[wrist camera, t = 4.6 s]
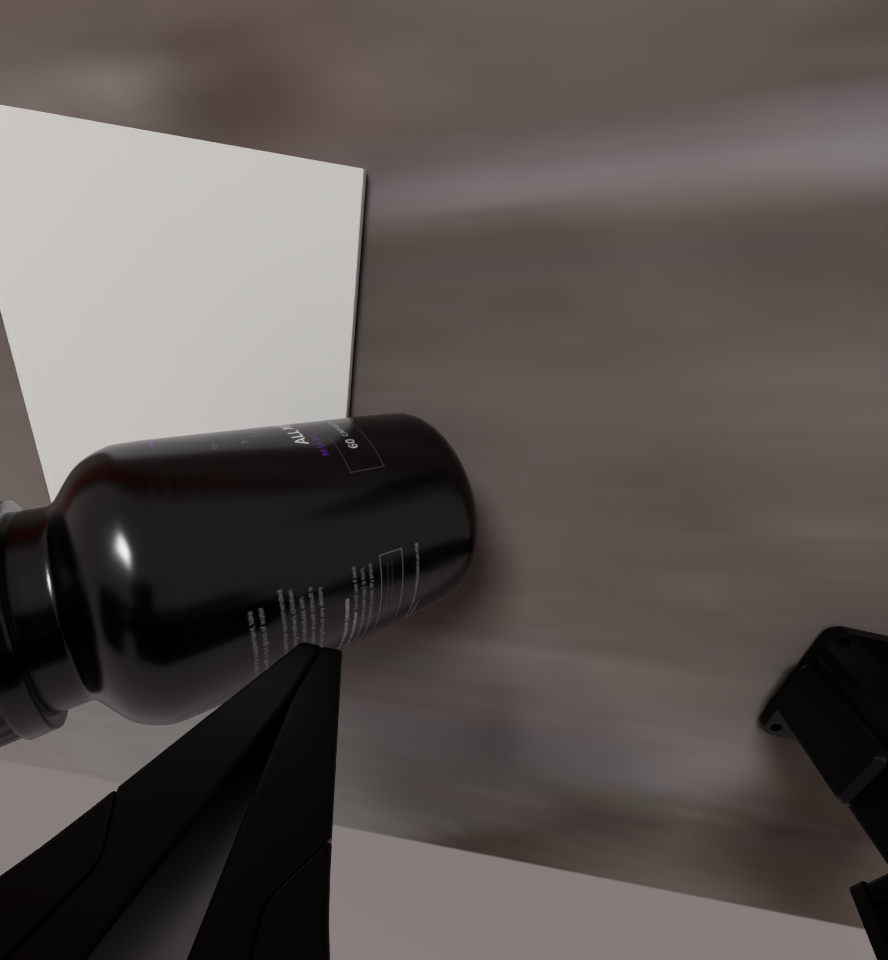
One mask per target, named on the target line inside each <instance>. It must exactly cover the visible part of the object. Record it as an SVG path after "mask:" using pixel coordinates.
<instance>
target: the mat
mask: <svg viewBox="0 0 888 960" xmlns="http://www.w3.org/2000/svg"><path fill="white" fill-rule="evenodd" d="M366 173H367V172H366V171H365V170H364V169H361V168H355V167H350V166H344V165H339V164H333V163H327V162H322V161H316V160H310V159H305V158H299V157H293V156H288V155H282V154H276V153H271V152H265V151H259V150H254V149H248V148H242V147H237V146H231V145H225V144H220V143H214V142H208V141H203V140H197V139H191V138H186V137H180V136H174V135H169V134H163V133H157V132H152V131H146V130H140V129H135V128H129V127H123V126H118V125H112V124H106V123H101V122H95V121H89V120H84V119H78V118H72V117H67V116H61V115H55V114H50V113H44V112H38V111H33V110H27V109H21V108H16V107H10V106H4V105H0V310H1V314H2V318H3V322H4V325H5V329H6V333H7V337H8V340H9V344H10V348H11V352H12V355H13V359H14V363H15V367H16V370H17V374H18V378H19V382H20V386H21V389H22V393H23V397H24V401H25V404H26V408H27V412H28V416H29V419H30V423H31V427H32V431H33V435H34V438H35V442H36V446H37V450H38V453H39V457H40V461H41V465H42V468H43V472H44V476H45V480H46V484H47V487H48V491H49V495H50V499H51V502H53V501H54V499H55V498H56V496H57V494H58V492H59V490H60V489H61V487H62V485H63V483H64V481H65V480H66V478H67V476H68V475H69V473H70V472H71V471H72V470H73V468H74V467H75V466H76V465H77V464H78V463H79V462H80V461H82V460H83V459H84V458H86V457H87V456H89V455H90V454H92V453H94V452H96V451H98V450H99V449H102V448H104V447H106V446H110V445H114V444H120V443H127V442H134V441H140V440H149V439H158V438H167V437H176V436H185V435H195V434H204V433H213V432H222V431H231V430H241V429H250V428H259V427H268V426H277V425H287V424H296V423H305V422H314V421H323V420H333V419H342V418H349V404H350V390H351V377H352V363H353V350H354V336H355V322H356V309H357V295H358V281H359V268H360V254H361V241H362V227H363V213H364V200H365V186H366Z"/></svg>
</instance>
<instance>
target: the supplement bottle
mask: <svg viewBox="0 0 888 960" xmlns="http://www.w3.org/2000/svg"><path fill="white" fill-rule="evenodd" d="M477 541H478V521H477V512H476V506H475V501H474V497H473V492H472V489H471V486H470V483H469V480H468V477H467V475H466V472H465V470H464V468H463V466H462V464H461V462H460V460H459V458H458V456H457V455H456V453H455V451H454V450H453V448H452V447H451V446H450V444H449V443H448V442H447V440H446V439H445V438H444V437H443V436H442V435H441V434H440V433H439V432H438V431H437V430H436V429H435V428H434V427H432V426H431V425H430V424H428V423H427V422H425V421H423V420H422V419H420V418H417V417H415V416H412V415H408V414H400V413H393V414H382V415H370V416H360V417H351V418H342V419H333V420H323V421H314V422H305V423H296V424H287V425H277V426H268V427H259V428H250V429H241V430H231V431H222V432H213V433H204V434H195V435H185V436H176V437H167V438H158V439H149V440H140V441H134V442H127V443H120V444H114V445H110V446H106V447H104V448H102V449H99V450H98V451H96V452H94V453H92V454H90V455H89V456H87V457H86V458H84V459H83V460H82V461H80V462H79V463H78V464H77V465H76V466H75V467H74V468H73V470H72V471H71V472H70V473H69V475H68V476H67V478H66V480H65V481H64V483H63V485H62V487H61V489H60V490H59V492H58V494H57V496H56V498H55V499H54V501H53V502H52V503H51V504H50V505H49V506H46V507H42V508H36V509H30V510H24V511H22V509H21V508H20V507H19V506H18V505H17V504H16V503H15V502H13V501H10V500H8V501H2V502H0V747H2V746H4V745H7V744H9V743H11V742H14V741H16V740H19V739H21V738H24V739H27V740H32V739H35V738H37V737H40V736H42V735H44V734H47V733H49V732H51V731H53V730H56V729H58V728H60V727H61V726H62V725H63V724H64V723H65V720H66V717H67V714H68V710H69V709H71V708H74V707H76V706H79V705H81V704H84V703H86V702H89V701H92V700H96V701H99V702H101V703H102V704H104V705H106V706H107V707H109V708H110V709H112V710H113V711H115V712H116V713H118V714H119V715H121V716H123V717H125V718H127V719H128V720H131V721H133V722H136V723H140V724H145V725H170V724H175V723H179V722H182V721H184V720H187V719H189V718H192V717H194V716H196V715H199V714H201V713H204V712H206V711H208V710H210V709H212V708H215V707H217V706H219V705H221V704H223V703H225V702H226V701H227V700H229V699H230V698H231V697H232V696H234V695H235V694H236V693H238V692H239V691H240V690H241V689H243V688H244V687H245V686H246V685H248V684H249V683H250V682H251V681H253V680H254V679H255V678H256V677H258V676H259V675H260V674H261V673H263V672H264V671H265V670H267V669H268V668H269V667H270V666H272V665H273V664H274V663H275V662H277V661H278V660H279V659H280V658H282V657H283V656H284V655H285V654H287V653H288V652H289V651H290V650H292V649H293V648H294V647H296V646H297V645H298V644H300V643H302V642H307V643H311V644H316V645H319V646H321V648H323V647H329V648H334V649H338V650H340V649H342V648H344V647H347V646H349V645H351V644H353V643H355V642H357V641H360V640H362V639H364V638H366V637H368V636H370V635H373V634H375V633H377V632H379V631H381V630H383V629H386V628H388V627H390V626H392V625H394V624H396V623H399V622H401V621H403V620H405V619H407V618H409V617H412V616H414V615H416V614H418V613H420V612H422V611H424V610H426V609H428V608H430V607H432V606H434V605H436V604H439V603H441V602H443V601H444V600H446V599H448V598H449V597H451V596H453V595H454V594H455V593H456V592H457V591H458V590H459V589H460V588H461V587H462V585H463V584H464V583H465V581H466V579H467V577H468V576H469V573H470V571H471V569H472V566H473V563H474V560H475V555H476V550H477Z"/></svg>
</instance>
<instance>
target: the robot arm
mask: <svg viewBox="0 0 888 960" xmlns="http://www.w3.org/2000/svg"><path fill="white" fill-rule="evenodd" d="M341 663H342V652H341V650H338V649H334V648H329V647H323V648H321V646H319V645H316V644H311V643H307V642H302V643H300V644H298V645H297V646H296V647H294V648H293V649H292V650H290V651H289V652H288V653H287V654H285V655H284V656H283V657H282V658H280V659H279V660H278V661H277V662H275V663H274V664H273V665H272V666H270V667H269V668H268V669H267V670H265V671H264V672H263V673H261V674H260V675H259V676H258V677H256V678H255V679H254V680H253V681H251V682H250V683H249V684H248V685H246V686H245V687H244V688H243V689H241V690H240V691H239V692H238V693H236V694H235V695H234V696H232V697H231V698H230V699H229V700H227V701H226V702H225V703H224V704H222V705H221V706H220V707H219V708H217V709H216V710H215V711H214V712H212V713H211V714H210V715H209V716H207V717H206V718H205V719H204V720H202V721H201V722H200V723H198V724H197V725H196V726H195V727H193V728H192V729H191V730H190V731H188V732H187V733H186V734H185V735H183V736H182V737H181V738H180V739H178V740H177V741H176V742H175V743H173V744H172V745H171V746H169V747H168V748H167V749H166V750H164V751H163V752H162V753H161V754H159V755H158V756H157V757H156V758H154V759H153V760H152V761H151V762H149V763H148V764H147V765H146V766H144V767H143V768H142V769H140V770H139V771H138V772H137V773H135V774H134V775H133V776H132V777H130V778H129V779H128V780H127V781H125V782H124V783H123V784H122V785H120V786H119V787H118V789H117V792H116V791H113V792H111V793H110V794H109V795H107V796H106V797H105V798H104V799H102V800H101V801H100V802H99V803H97V804H96V805H95V806H94V807H92V808H91V809H90V810H88V811H87V812H86V813H85V814H83V815H82V816H81V817H79V818H78V819H77V820H76V821H74V822H73V823H72V824H70V825H69V826H68V827H66V828H65V829H64V830H62V831H61V832H60V833H59V834H57V835H56V836H55V837H54V838H52V839H51V840H49V841H48V842H47V843H45V844H44V845H43V846H42V847H40V848H39V849H37V850H36V851H35V852H33V853H32V854H30V855H29V856H28V857H26V858H25V859H23V860H22V861H21V862H19V863H18V864H16V865H15V866H14V867H12V868H11V869H9V870H8V871H7V872H5V873H4V874H2V875H1V876H0V960H330V949H329V948H330V944H329V898H330V895H329V894H330V867H331V849H332V845H331V841H332V827H333V808H334V790H335V772H336V754H337V736H338V718H339V699H340V681H341ZM760 723H761V725H762V726H763V728H764V730H765V731H766V732H767V733H769V734H772V735H776V736H781V737H785V738H790V739H794V740H798V741H799V743H800V744H801V746H802V747H803V749H804V750H805V752H806V753H807V755H808V756H809V758H810V759H811V761H812V762H813V764H814V765H815V767H816V768H817V770H818V771H819V773H820V774H821V776H822V777H823V779H824V780H825V782H826V783H827V785H828V786H829V788H830V789H831V790H832V792H833V793H834V795H835V796H836V798H837V799H838V800H839V801H840V803H842V804H845V805H848V807H849V808H850V810H851V811H852V813H853V814H854V816H855V817H856V819H857V820H858V821H859V823H860V824H861V826H862V827H863V829H864V830H865V832H866V833H867V835H868V836H869V838H870V839H871V841H872V842H873V843H874V845H875V846H876V848H877V849H878V851H879V852H880V854H881V855H882V857H883V858H884V860H885V861H886V863H888V636H885V635H880V634H875V633H871V632H866V631H861V630H857V629H852V628H847V627H842V626H836V627H832V628H830V629H828V630H826V631H825V632H824V633H823V635H822V636H821V637H820V639H819V640H818V641H817V643H816V644H815V645H814V647H813V648H812V649H811V651H810V652H809V653H808V655H807V656H806V657H805V659H804V660H803V661H802V663H801V664H800V665H799V667H798V668H797V670H796V671H795V672H794V674H793V675H792V676H791V678H790V679H789V680H788V682H787V683H786V684H785V686H784V687H783V688H782V690H781V691H780V692H779V694H778V695H777V696H776V698H775V699H774V700H773V702H772V703H771V704H770V706H769V707H768V708H767V710H766V711H765V712H764V714H763V715H762V716H761V718H760ZM850 892H851V895H852V897H853V900H854V902H855V905H856V907H857V910H858V912H859V915H860V917H861V920H862V922H863V925H864V928H865V930H866V933H867V935H868V937H869V940H870V942H871V945H872V948H873V950H874V953H875V955H876V958H877V960H888V874H886V875H884V876H882V877H880V878H877V879H875V880H873V881H871V882H869V883H866V882H864V881H862V882H860V883H858V884H855V885H853V886H851V887H850Z"/></svg>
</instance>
